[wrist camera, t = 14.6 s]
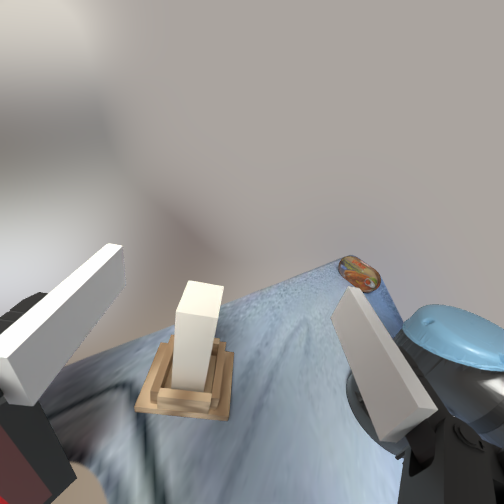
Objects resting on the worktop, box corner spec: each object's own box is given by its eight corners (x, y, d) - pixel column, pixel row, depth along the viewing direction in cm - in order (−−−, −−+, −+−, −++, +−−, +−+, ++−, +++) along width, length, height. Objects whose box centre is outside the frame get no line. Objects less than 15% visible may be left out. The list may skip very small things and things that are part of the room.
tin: (334, 270, 83) (344, 251, 79) (340, 269, 85) (349, 250, 81) (368, 298, 73) (381, 277, 69) (374, 296, 74) (387, 276, 70)
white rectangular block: (208, 361, 41) (223, 286, 32) (202, 396, 36) (218, 318, 27) (181, 357, 40) (188, 280, 32) (170, 392, 35) (175, 311, 26)
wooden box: (232, 357, 44) (237, 340, 42) (227, 421, 35) (232, 405, 32) (160, 347, 43) (161, 329, 40) (134, 411, 33) (133, 394, 31)
